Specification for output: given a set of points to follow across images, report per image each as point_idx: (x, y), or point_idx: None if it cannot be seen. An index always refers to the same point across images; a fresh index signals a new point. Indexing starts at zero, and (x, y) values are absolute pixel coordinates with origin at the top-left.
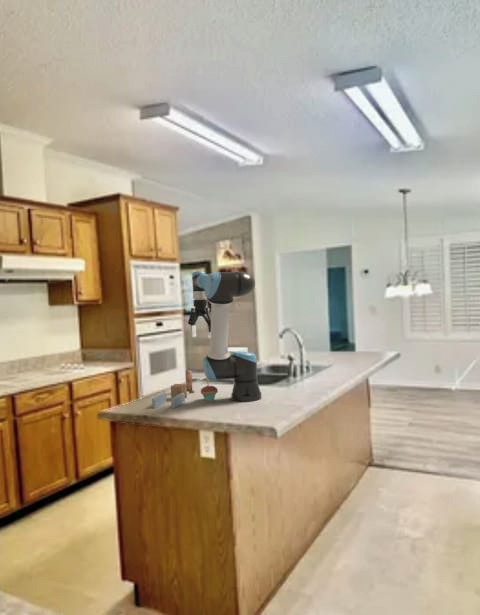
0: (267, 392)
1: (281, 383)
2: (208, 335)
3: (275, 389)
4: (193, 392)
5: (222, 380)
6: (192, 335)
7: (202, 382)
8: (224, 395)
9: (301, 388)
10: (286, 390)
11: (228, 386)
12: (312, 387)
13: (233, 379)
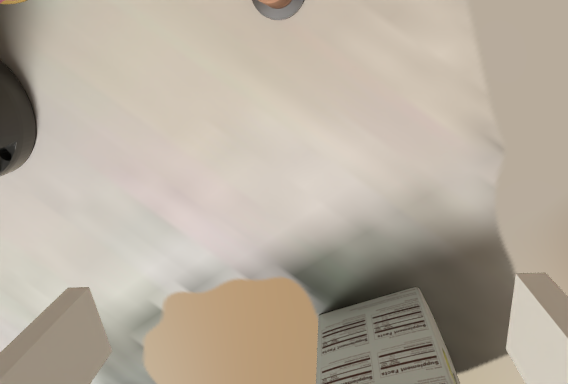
0: (26, 236)
1: (137, 368)
2: (38, 316)
3: (56, 288)
4: (253, 2)
5: (394, 293)
6: (535, 293)
7: (450, 207)
8: (83, 80)
9: None
10: (16, 297)
11: (248, 221)
12: None
13: (334, 315)
